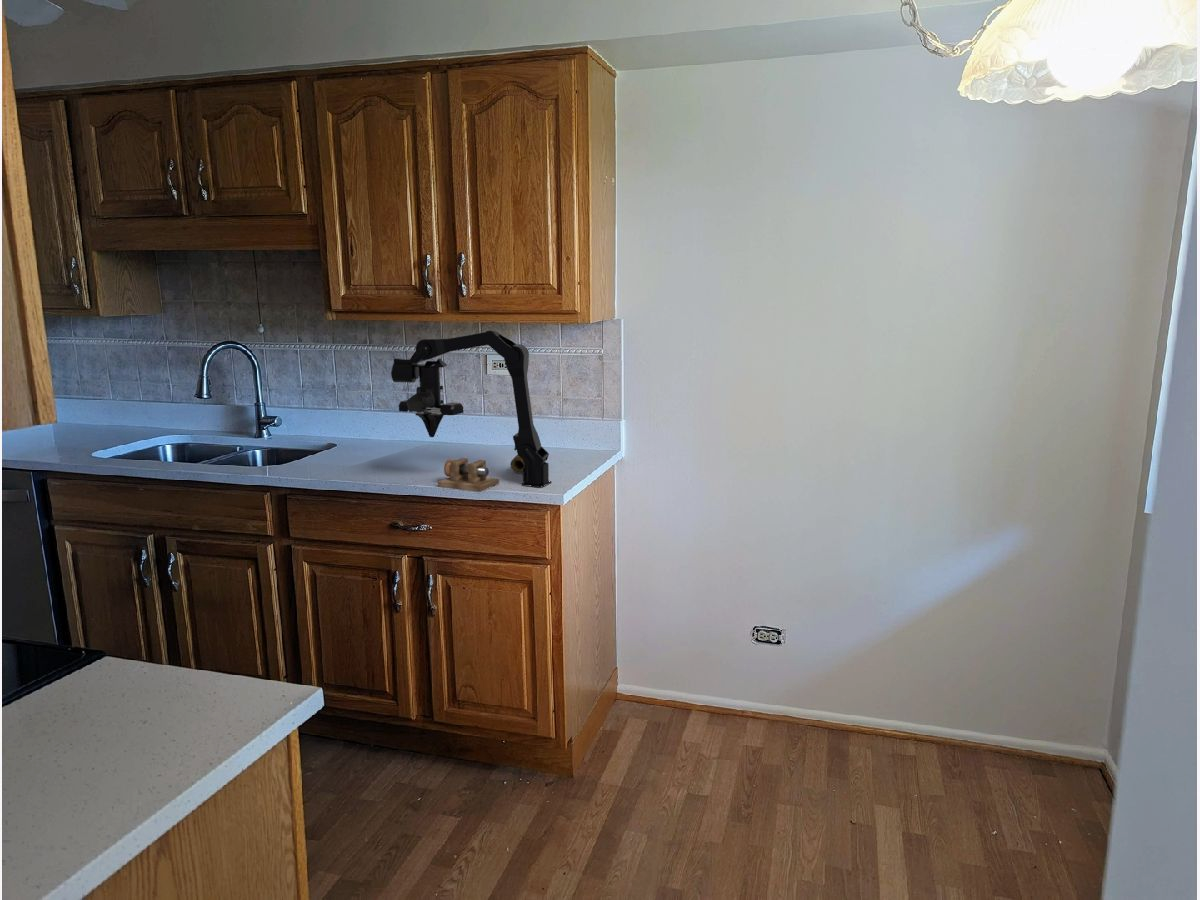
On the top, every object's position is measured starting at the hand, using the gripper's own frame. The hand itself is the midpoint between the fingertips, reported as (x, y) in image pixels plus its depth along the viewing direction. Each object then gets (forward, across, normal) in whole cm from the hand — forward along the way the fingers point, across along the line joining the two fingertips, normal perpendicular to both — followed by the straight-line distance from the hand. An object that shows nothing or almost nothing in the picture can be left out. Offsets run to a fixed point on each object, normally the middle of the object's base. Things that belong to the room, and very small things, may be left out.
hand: (431, 437), depth 245 cm
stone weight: (+13, +17, +25) cm, 33 cm away
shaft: (+11, +12, 0) cm, 16 cm away
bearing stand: (+13, +12, 0) cm, 18 cm away
